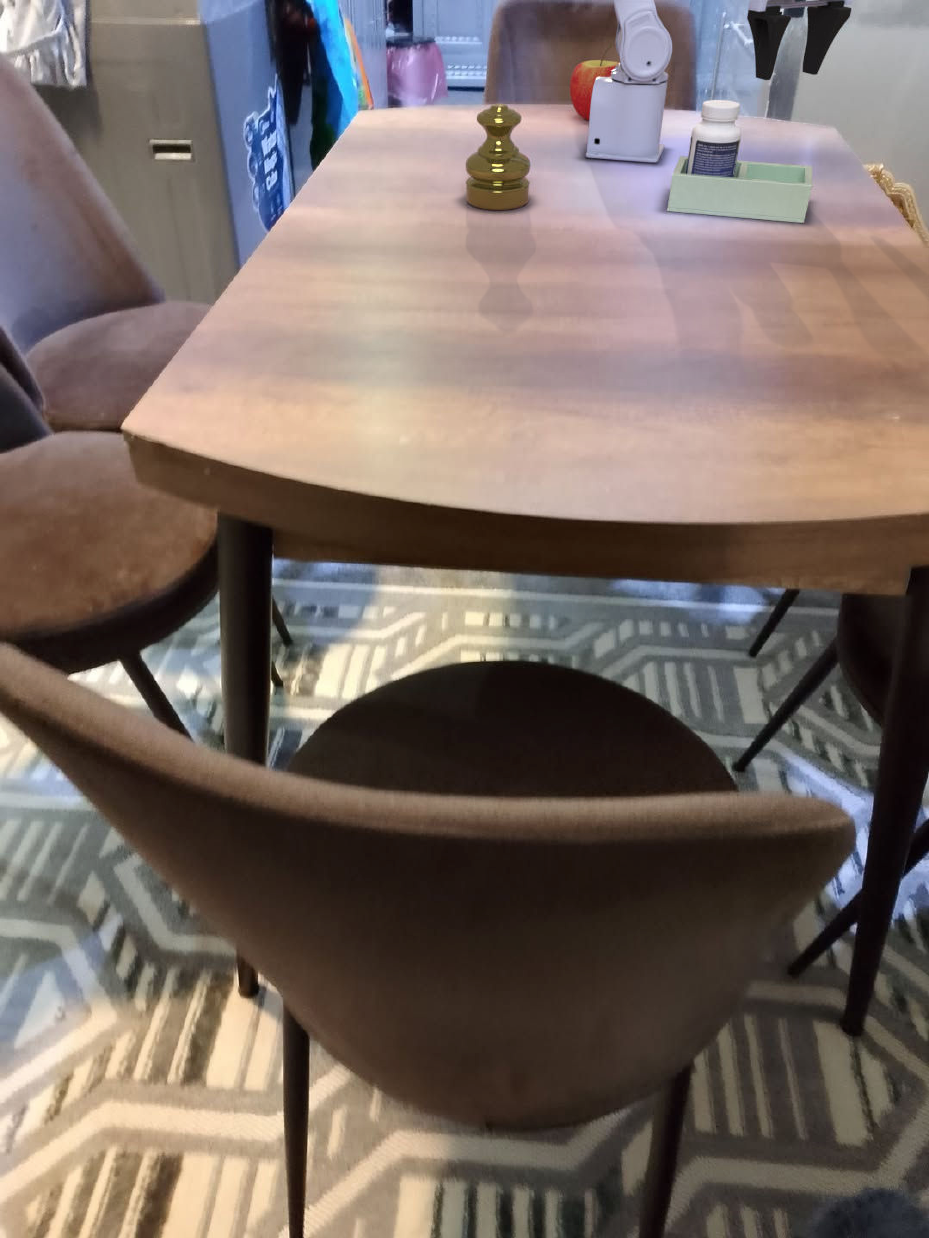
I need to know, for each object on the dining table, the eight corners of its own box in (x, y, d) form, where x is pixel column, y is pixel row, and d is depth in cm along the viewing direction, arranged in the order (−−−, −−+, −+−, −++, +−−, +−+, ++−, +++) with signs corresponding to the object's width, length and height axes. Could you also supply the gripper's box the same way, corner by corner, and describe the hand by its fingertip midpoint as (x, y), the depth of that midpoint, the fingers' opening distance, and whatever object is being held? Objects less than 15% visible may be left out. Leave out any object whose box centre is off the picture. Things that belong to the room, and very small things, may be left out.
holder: (803, 223, 100) (812, 185, 98) (667, 211, 104) (672, 174, 101) (804, 202, 106) (812, 166, 104) (674, 191, 109) (679, 156, 107)
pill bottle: (738, 203, 104) (756, 107, 98) (696, 207, 103) (712, 110, 96) (714, 189, 108) (730, 96, 101) (674, 193, 107) (687, 99, 100)
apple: (608, 129, 132) (615, 49, 126) (557, 121, 136) (561, 43, 129) (632, 118, 137) (641, 40, 131) (582, 110, 141) (588, 35, 134)
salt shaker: (481, 215, 102) (482, 116, 96) (455, 196, 108) (455, 101, 101) (539, 206, 105) (544, 109, 98) (511, 189, 110) (514, 95, 103)
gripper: (836, -63, 111) (808, 65, 120) (742, -58, 106) (720, 75, 115) (879, -58, 106) (847, 75, 115) (783, -53, 101) (757, 86, 110)
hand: (786, 76), depth 115 cm, fingers open, 7 cm apart
